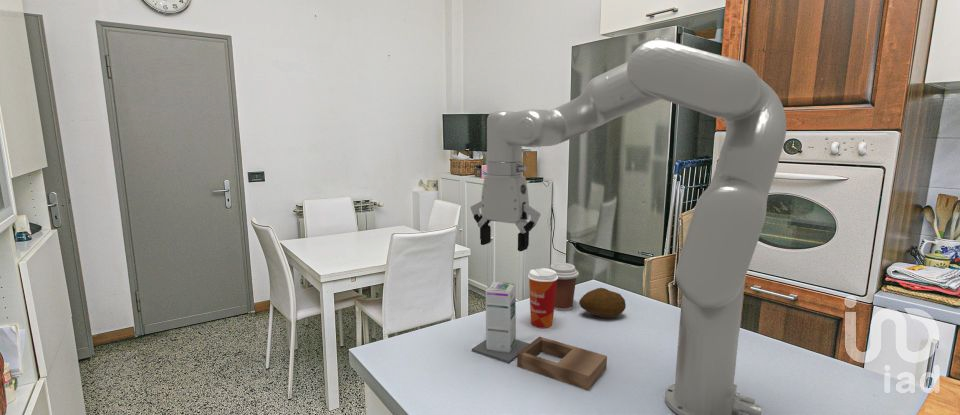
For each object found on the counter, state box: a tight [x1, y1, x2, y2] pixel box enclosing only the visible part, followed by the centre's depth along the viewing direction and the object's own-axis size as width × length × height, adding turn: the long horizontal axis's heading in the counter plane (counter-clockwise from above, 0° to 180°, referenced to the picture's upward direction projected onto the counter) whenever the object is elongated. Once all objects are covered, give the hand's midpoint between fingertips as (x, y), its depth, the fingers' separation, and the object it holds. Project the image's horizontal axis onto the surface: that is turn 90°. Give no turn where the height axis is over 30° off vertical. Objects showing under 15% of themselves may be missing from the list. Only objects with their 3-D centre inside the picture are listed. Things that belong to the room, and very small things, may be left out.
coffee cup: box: [548, 262, 580, 312], centre depth 132 cm, size 9×9×12 cm
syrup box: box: [485, 281, 517, 353], centre depth 106 cm, size 6×6×14 cm
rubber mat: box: [471, 339, 531, 364], centre depth 107 cm, size 10×10×1 cm
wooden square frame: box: [516, 336, 608, 391], centre depth 98 cm, size 16×10×3 cm, turn 55°
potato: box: [578, 287, 627, 319], centre depth 126 cm, size 8×12×8 cm, turn 96°
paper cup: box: [527, 267, 558, 329], centre depth 120 cm, size 8×8×14 cm
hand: (503, 246), depth 103 cm, fingers open, 9 cm apart
